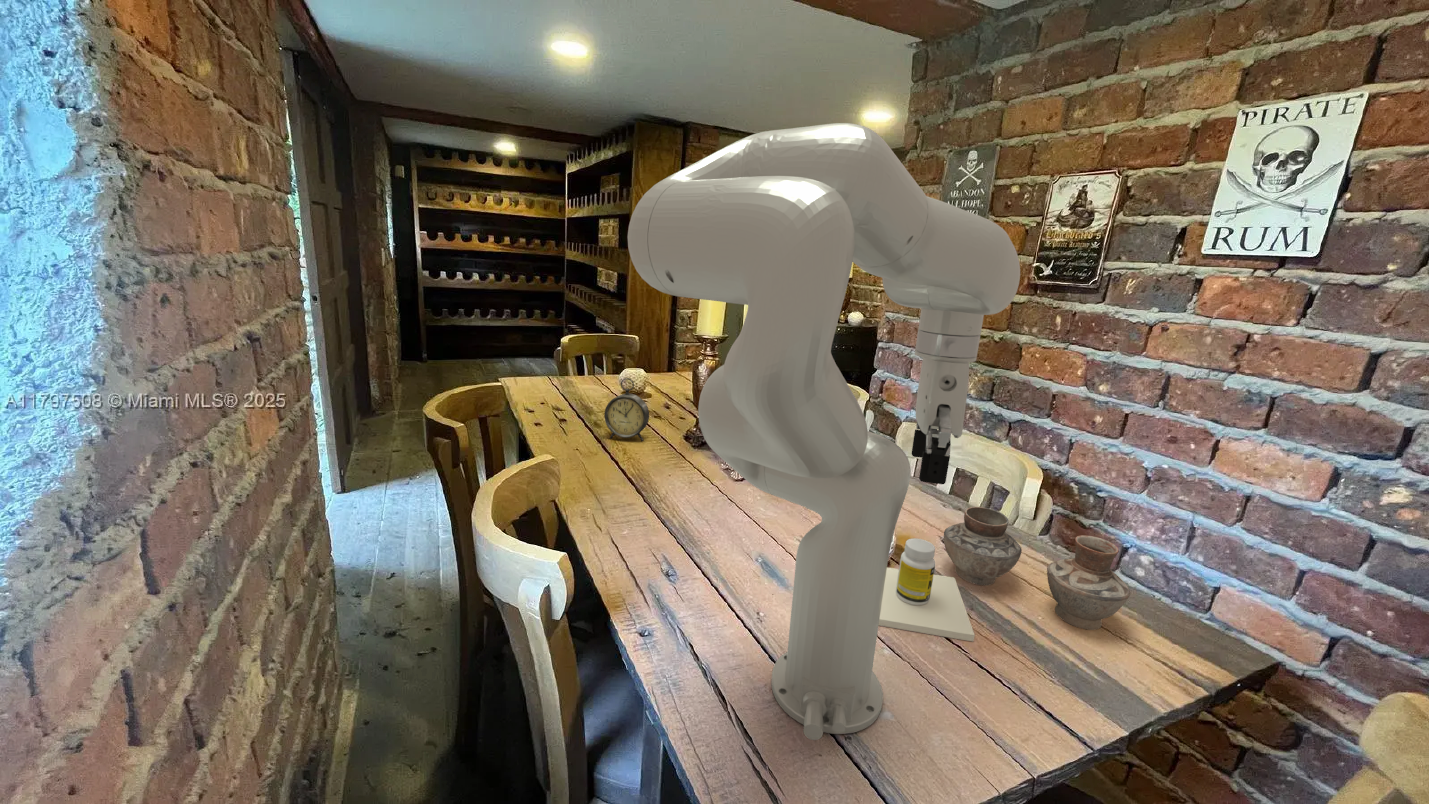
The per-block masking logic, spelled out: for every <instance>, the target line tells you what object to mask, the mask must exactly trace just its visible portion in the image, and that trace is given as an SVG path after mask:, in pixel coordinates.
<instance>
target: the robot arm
mask: <svg viewBox="0 0 1429 804" xmlns="http://www.w3.org/2000/svg"><path fill="white" fill-rule="evenodd" d="M627 229H628V230H627V247H628V253H629V256H630V260H631V262H632V265H633V266H634V269H635V270H636V272H637V273H638V275H639V276H640V277H641V280H643V281H644V282H646V283H647V285H649V286H650V287H651V288H654V289H656V290H657V291H658V292H661V293H663V294H666V295H670V296H675V297H680V298H681V297H682V298H688V299H689V298H690V299H697V300H706V301H713V302H714V301H715V302H720V303H727V304H737V305H745V306H747V312H746V315H745V317H744V323H743V325H742V328H741V331H740V333H739V335H738V336H737V338H736V339H735V341H734V342H733V343H732V345H731V346H730V349H729V351H728V352H727V354H726V357H725V360H724V364H722V365H721V366H719V367H718V368H716V369H715V370H714V371H713V372H712V374H710V376H708V378H707V380H706V382H705V383H704V385H703V387H702V389H701V392H700V395H699V401H698V411H697V412H698V415H697V416H698V424H699V427H700V431H701V434H702V436H703V438H704V440H705V442H706V444H707V445H708V446H709V448H711V450H712V451H713V452H714V453H715V454H716V455H717V456H718V457H719V458H721V460H723V461H724V462H725V463H726V464H727V465H728V466H730V467H731V468H732V469H733V470H734V471H735V472H736V473H738V475H740V476H741V477H742V478H743V479H744V480H745V481H747V482H748V483H749V484H751V485H752V486H753V487H755V488H756V489H758V490H760V491H762V492H763V493H766V494H769V495H772V496H774V497H777V498H780V499H782V500H785V501H787V502H791V503H793V504H796V505H799V506H801V507H804V508H805V509H807V510H810V511H812V512H814V513H817V514H818V515H819V516H820V517H821V522H820V523H817V524H816V525H815V526H814V527H812V528H811V529H809V530H808V531H807V532H806V533H805V534H804V536H803V537H802V538H801V539H800V542H799V544H798V546H797V550H796V555H795V557H796V558H795V567H794V568H795V569H794V577H793V591H792V600H791V608H790V609H791V610H790V619H789V620H790V622H789V631H788V632H789V633H788V641H787V643H788V644H787V651H786V652H785V653H783V654H782V655H781V656H780V657H778V659H777V660H776V661H775V663H774V665H773V668H772V672H771V680H770V681H771V682H770V683H771V689H772V695H773V696H774V697H775V700H776V702H777V703H778V705H779V706H780V707H781V709H782V710H783V711H784V712H785V713H786V714H787V715H788V716H789V717H790V718H792V719H793V720H794V721H796V722H798V723H799V724H800V725H801V724H802V725H803V734H804V736H805V737H806V738H807V739H809V740H811V741H818V740H820V739H821V738H822V737H823V735H824V733H827V734H832V735H834V734H835V735H847V734H852V733H856V732H859V731H862V730H865V729H866V728H868V727H870V726H871V725H872V724H873V723H874V722H875V721H876V720H878V718H879V716H880V713H881V711H882V706H883V702H884V698H883V697H884V692H883V689H882V685H881V682H880V680H879V678H878V677H877V675H876V674H875V673H874V671H873V667H874V660H875V659H874V658H875V655H876V653H875V652H876V646H877V641H878V640H877V639H878V631H879V619H880V612H881V605H882V598H883V591H884V584H885V577H886V570H887V567H888V563H889V557H890V553H891V552H890V551H891V548H892V547H891V546H892V541H893V537H894V534H895V529H896V526H897V524H898V523H897V522H898V519H899V516H900V513H901V511H902V507H903V506H904V505H903V504H904V502H905V499H906V496H907V493H908V489H909V486H910V480H911V475H912V474H911V470H912V469H911V463H910V460H909V458H908V456H907V454H906V452H905V451H904V450H903V449H902V448H901V446H899V445H898V444H897V443H895V442H894V441H893V440H890V439H889V438H887V437H885V436H883V435H880V434H878V433H875V432H871V431H869V430H868V424H867V421H866V417H865V415H864V413H863V411H862V408H861V406H860V403H859V402H858V400H857V398H856V397H855V394H854V393H853V391H852V389H851V387H850V386H849V384H848V382H847V381H846V379H845V377H844V376H843V374H842V372H841V370H840V368H839V367H838V365H837V364H836V362H835V359H834V357H833V355H832V346H833V343H834V338H835V334H836V330H837V326H838V321H839V318H840V314H841V311H842V307H843V304H844V300H845V296H846V292H847V288H848V284H849V280H850V275H851V272H852V267H853V264H855V265H856V266H857V267H859V268H860V269H861V270H863V271H864V272H866V273H868V274H870V275H873V276H875V277H879V278H882V286H883V291H884V292H885V294H886V296H887V297H888V298H889V299H890V300H891V301H892V302H893V303H895V304H896V305H899V306H903V307H906V308H911V309H912V308H913V309H920V315H919V316H920V317H919V323H918V329H917V333H916V334H917V336H916V341H915V342H916V343H915V349H914V355H915V356H917V357H919V358H922V360H921V369H920V374H919V381H918V387H917V395H916V402H915V403H916V404H915V419H916V428H915V429H914V432H913V433H914V435H913V440H912V446H911V447H912V448H911V456H912V457H913V458H921V461H920V463H921V464H920V469H919V475H918V479H919V481H920V482H922V483H929V484H936V485H937V484H938V485H945V484H946V482H947V476H948V469H949V464H950V459H951V446H952V445H951V443H952V442H951V437H952V436H953V437H954V439H959V438H961V437H962V435H963V431H964V429H963V428H964V422H965V415H966V408H967V407H966V406H967V398H968V390H969V389H968V388H969V378H970V376H969V375H970V363H974V362H976V361H977V359H978V352H979V347H980V339H981V334H982V329H983V321H984V317H985V315H986V316H988V315H996V314H998V313H1001V312H1002V311H1004V310H1005V309H1006V308H1008V307H1009V305H1010V304H1011V303H1012V301H1013V300H1014V299H1015V297H1016V294H1017V292H1018V288H1019V285H1020V281H1021V279H1020V278H1021V266H1020V260H1019V256H1018V253H1017V250H1016V247H1015V245H1014V243H1013V241H1012V240H1011V238H1010V236H1009V234H1008V233H1007V231H1006V230H1005V229H1004V228H1002V227H1001V226H1000V225H998V224H997V223H996V222H994V221H991V220H990V219H987V218H986V217H985V216H984V217H983V216H981V215H979V214H976V213H973V212H970V211H967V210H965V209H963V208H961V207H957V206H955V205H953V204H950V203H948V202H945V201H942V200H939V199H937V198H933V197H930V196H928V195H926V194H925V192H924V190H923V189H922V188H921V187H920V185H919V184H918V183H917V182H916V180H915V179H914V178H913V176H912V175H911V173H910V172H909V171H908V169H907V168H906V167H905V166H904V164H903V163H902V161H901V160H900V159H899V158H898V156H897V155H896V154H895V153H894V151H893V150H892V148H890V146H889V145H888V143H887V142H886V141H885V139H883V138H882V136H880V135H879V134H878V133H877V132H876V131H874V130H872V129H871V128H869V127H868V126H867V127H866V126H864V125H861V124H856V123H850V122H840V123H839V122H836V123H835V122H834V123H826V124H817V125H811V126H803V127H802V126H801V127H793V128H784V129H774V130H765V131H761V132H757V133H753V134H751V135H749V136H746V137H743V138H740V139H739V140H736V141H735V142H732V143H730V144H728V145H726V146H725V147H723V148H721V149H718V150H717V151H715V152H713V153H711V154H709V155H708V156H706V157H704V158H702V159H700V160H698V161H696V162H695V163H692V164H690V165H688V166H686V167H684V168H683V169H680V170H678V171H677V172H675V173H673V174H671V175H668V176H667V177H666V178H664V179H662V180H659V182H657V183H655V184H654V185H653V186H652V187H651V188H650V189H648V190H647V191H646V192H645V193H644V194H643V195H642V197H640V199H639V200H638V202H637V204H636V206H635V208H634V210H633V212H632V214H631V217H630V221H629V224H628V228H627Z"/></svg>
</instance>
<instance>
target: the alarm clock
mask: <svg viewBox="0 0 1429 804" xmlns="http://www.w3.org/2000/svg"><path fill="white" fill-rule="evenodd" d="M625 380H629V381H630V382H631V383H632V387H631V388H630V389H629V388H624V387H623V382H624V381H625ZM620 386H621V388H622V390H625V393H622V394H620V395H618V396H616V397H614V398H612V399H611V400H609V402H608V403H607V405H606V406H605V409H604V417H603V418H604V421H605V424H606V427H607V428H608V430H609V431H610V432H611V435H610V436H609V439H613V436H618V437H620V438H624V439H628V438H633V437H636V436H638V438H639V439H640V440H641V442H644V438H643V436H642V435H641V432H642V431H643V430H644V429H645V428H646V427H647V425H648V424H649V421H650V411H649V408H648V405H647V403H646V402H645V400H644V399H642V398H641V397H639V395H636V394H633V393H630V391H631V390H633V389H634V386H635V384H634V380H632V379H631V378H628V377H626V378H623V379H621V382H620Z"/></svg>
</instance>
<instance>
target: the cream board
mask: <svg viewBox="0 0 1429 804" xmlns="http://www.w3.org/2000/svg"><path fill="white" fill-rule="evenodd" d="M898 572H899V568H893V567H889V566H887V570H886V577H885V584H884V591H883V598H882V605H881V612H880V619H879V626H881V627H886V628H892V629H898V630H904V631H908V632H909V631H911V632H913V633H914V632H915V633H921V634H926V635H932V636H939V637H944V638H950V639H956V640H962V641H967V642H973V643H974V642H975V641H974V640H975V637H976V636H975V632H974V629H973V627H972V623H971V621H970V618H969V615H968V612H967V609H966V606H965V604H964V601H963V598H962V595H961V592H960V590H959V589H960V588H959V587H958V584H957V581H956V577H953V576H945V575H938V574H934V575H933V581H932V587H931V593H930V599H929V601H928V603H926V604H924V605H913V604H909V603H906V602H904V601H902V600H901V599H900V598H899V597H898V596H897V594H896V585H897V579H898ZM879 626H878V627H879Z"/></svg>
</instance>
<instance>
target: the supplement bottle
mask: <svg viewBox="0 0 1429 804" xmlns="http://www.w3.org/2000/svg"><path fill="white" fill-rule="evenodd" d="M935 552H936V547H935V545H934V544H933V543H932V542H930V541H928V540H926V539H922V538H914V537H913V538H909V539H907V540H906V541H905V544H904V551H903V552H902V553H901V555H900V561H899V566H898V569H899V572H898V579H897V585H896V594H897V596H898V597H899V598H900V599H901V600H902V601H904V602H906V603H909V604H913V605H924V604H926V603H928V601H929V599H930V593H931V587H932V581H933V575H935V568H936V561H935V559H934V557H935Z"/></svg>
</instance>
